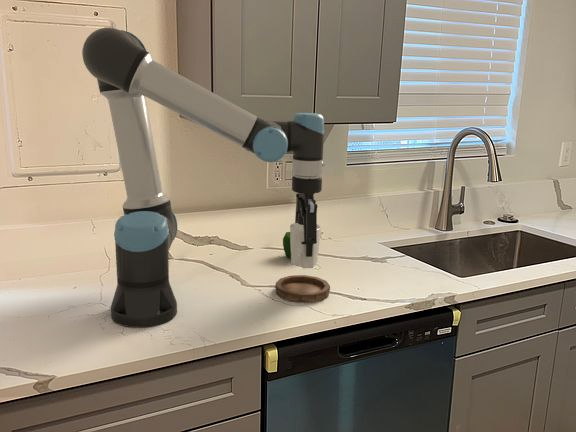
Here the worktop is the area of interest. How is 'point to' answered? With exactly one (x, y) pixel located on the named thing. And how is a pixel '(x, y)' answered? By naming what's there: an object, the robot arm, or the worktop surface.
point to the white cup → (297, 247)
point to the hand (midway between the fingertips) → (304, 262)
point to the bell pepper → (287, 245)
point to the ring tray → (302, 289)
